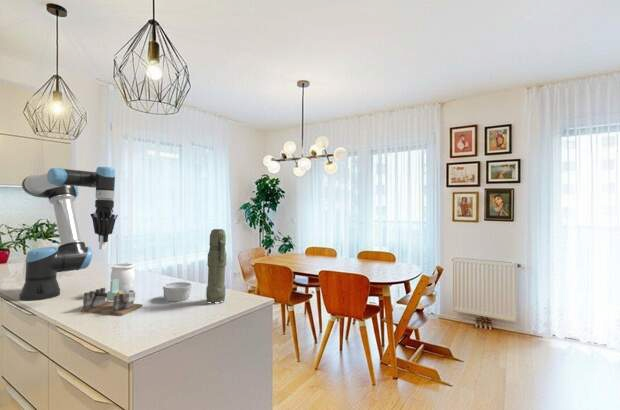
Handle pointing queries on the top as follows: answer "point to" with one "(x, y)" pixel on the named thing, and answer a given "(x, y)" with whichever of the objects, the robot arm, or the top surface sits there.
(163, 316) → the top surface
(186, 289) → the ramekin
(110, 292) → the mint green stepped block
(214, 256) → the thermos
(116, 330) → the top surface
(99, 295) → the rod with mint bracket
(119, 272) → the jar
